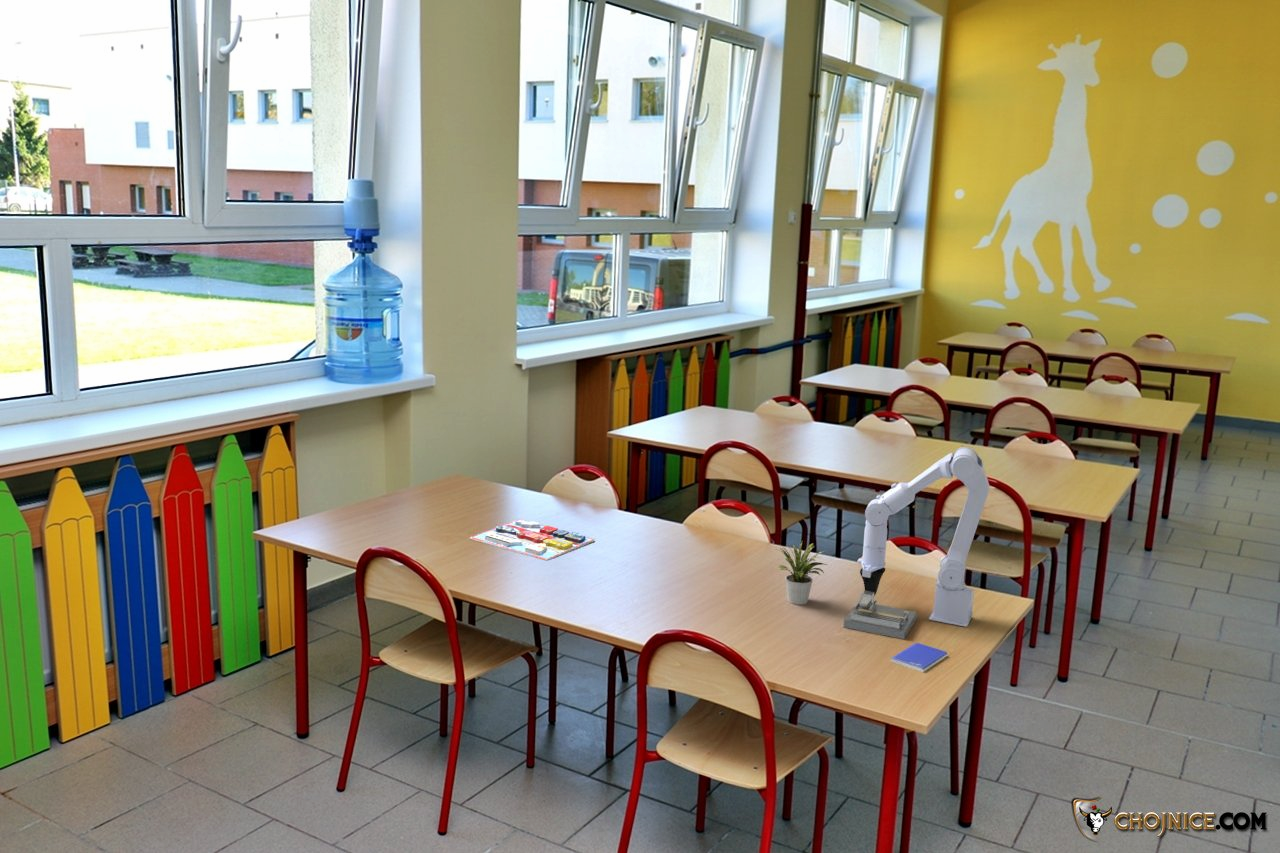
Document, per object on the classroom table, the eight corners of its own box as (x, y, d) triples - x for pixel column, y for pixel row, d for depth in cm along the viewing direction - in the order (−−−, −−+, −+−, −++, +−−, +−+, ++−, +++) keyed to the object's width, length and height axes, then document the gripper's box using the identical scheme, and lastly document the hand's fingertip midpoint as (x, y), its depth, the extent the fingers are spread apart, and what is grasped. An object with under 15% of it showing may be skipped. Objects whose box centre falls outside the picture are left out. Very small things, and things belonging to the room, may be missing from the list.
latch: (873, 603, 283) (874, 592, 282) (868, 610, 278) (869, 598, 277) (862, 601, 284) (863, 590, 283) (857, 608, 279) (858, 596, 278)
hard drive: (923, 667, 248) (947, 651, 257) (890, 657, 253) (915, 641, 262) (922, 674, 248) (946, 658, 257) (890, 663, 253) (915, 648, 263)
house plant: (778, 613, 279) (782, 553, 276) (758, 594, 292) (762, 536, 289) (830, 609, 283) (834, 549, 280) (808, 590, 296) (812, 533, 293)
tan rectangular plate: (903, 619, 273) (903, 617, 273) (900, 623, 271) (900, 620, 271) (859, 610, 278) (859, 608, 278) (856, 614, 275) (857, 612, 275)
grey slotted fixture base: (916, 618, 279) (917, 604, 278) (903, 639, 266) (905, 624, 265) (858, 607, 285) (859, 593, 284) (843, 627, 272) (844, 612, 271)
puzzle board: (468, 541, 330) (468, 532, 330) (519, 523, 349) (519, 515, 348) (547, 563, 313) (547, 554, 313) (595, 543, 332) (595, 535, 331)
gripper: (866, 535, 291) (862, 583, 293) (852, 550, 278) (848, 601, 281) (892, 539, 288) (888, 588, 291) (879, 555, 275) (875, 606, 278)
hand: (870, 595), depth 285 cm, fingers closed
